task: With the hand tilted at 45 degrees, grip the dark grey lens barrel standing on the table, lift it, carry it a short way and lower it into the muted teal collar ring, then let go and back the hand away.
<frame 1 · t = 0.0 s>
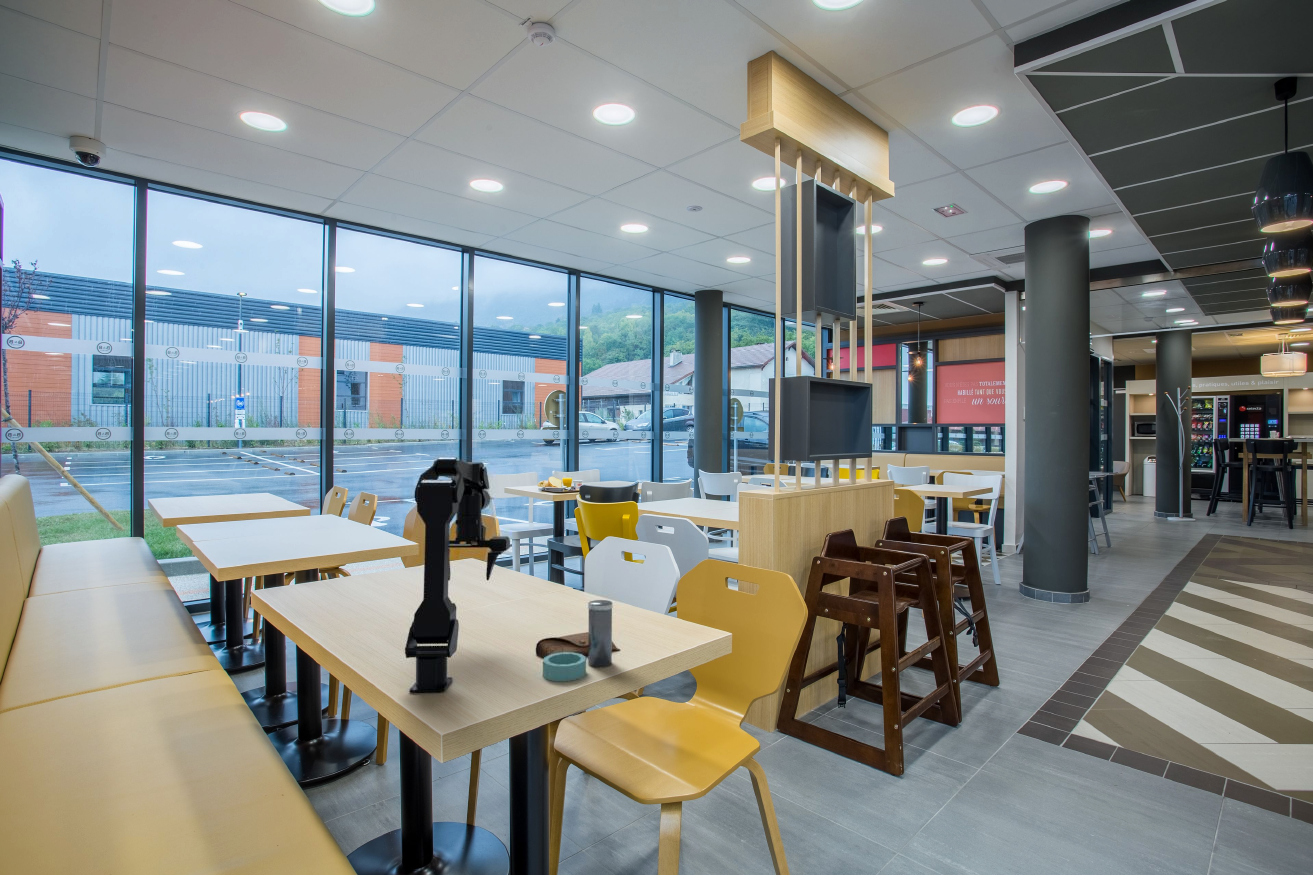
hand: (468, 580, 151), 15 cm above the table, tool pointing down, fingers open, 9 cm apart
sunglasses case: (579, 655, 144), on the table
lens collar: (564, 673, 130), on the table
lens barrel: (600, 663, 136), on the table
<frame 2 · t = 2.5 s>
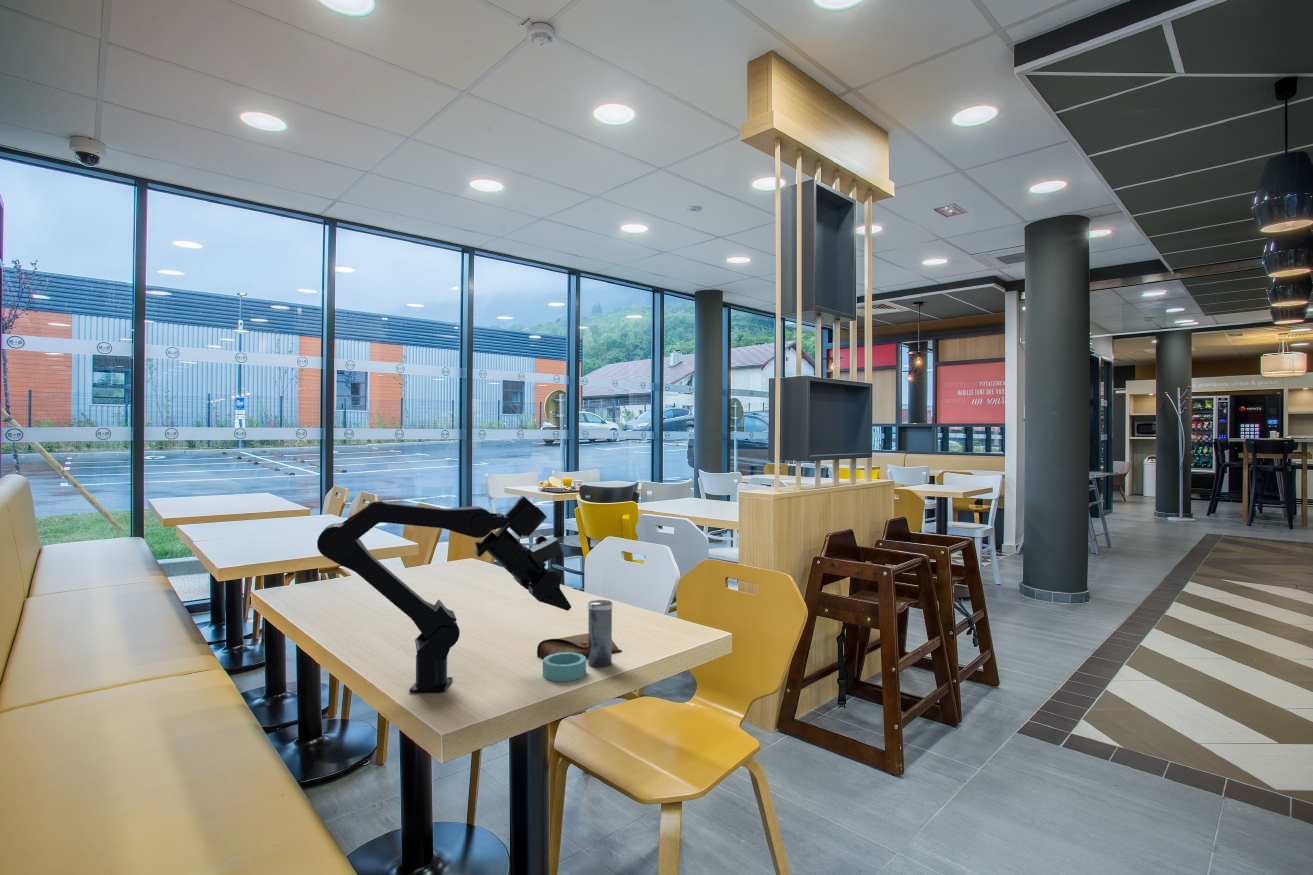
hand: (563, 603, 133), 13 cm above the table, tool tilted 45°, fingers open, 9 cm apart
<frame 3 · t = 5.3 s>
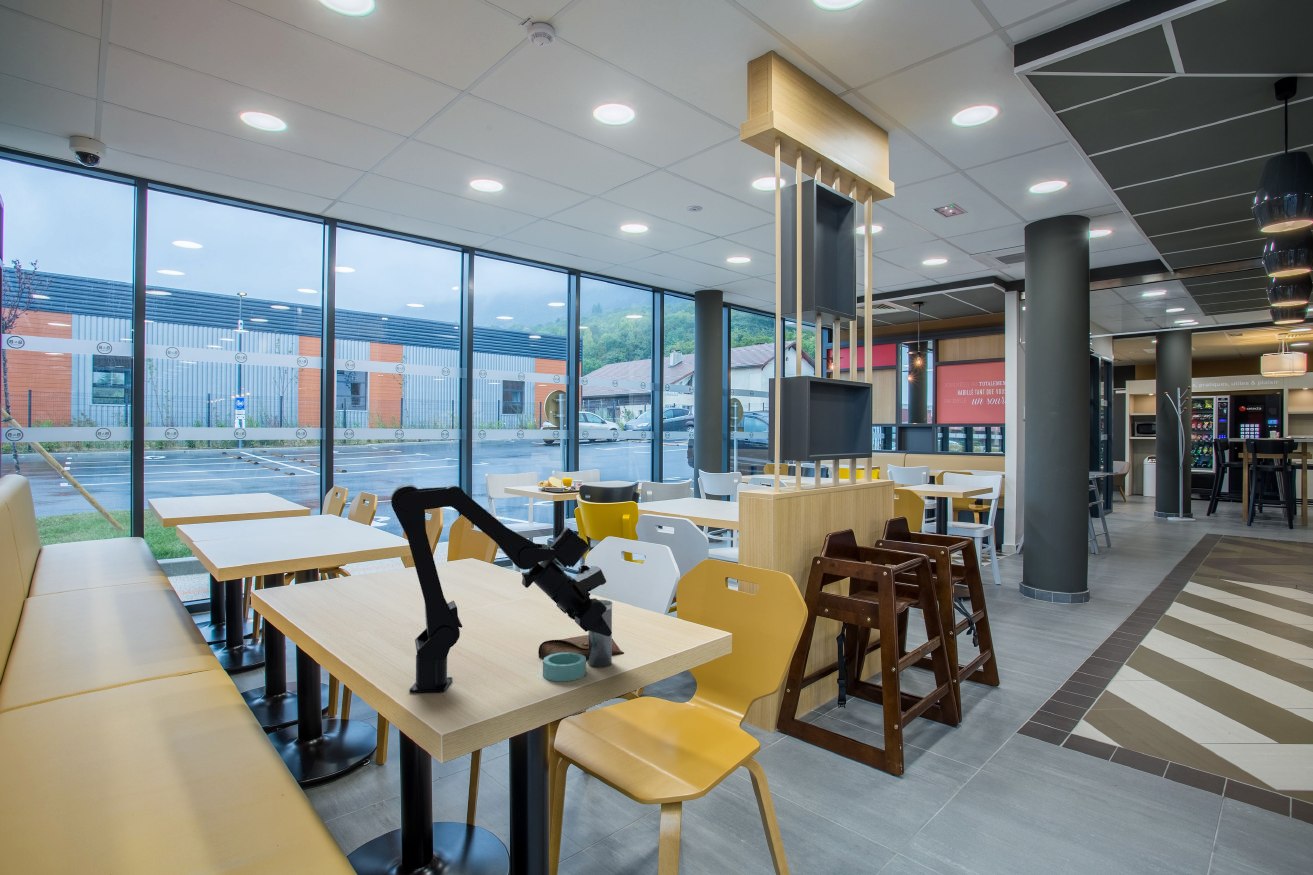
hand: (606, 631, 137), 7 cm above the table, tool tilted 45°, fingers closed on lens barrel, 5 cm apart
sunglasses case: (582, 657, 142), on the table
lens barrel: (600, 663, 136), on the table, touching gripper
when the fingers open (8 cm above the table, at t = 9.8 s): lens barrel drops 1 cm, resting in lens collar.
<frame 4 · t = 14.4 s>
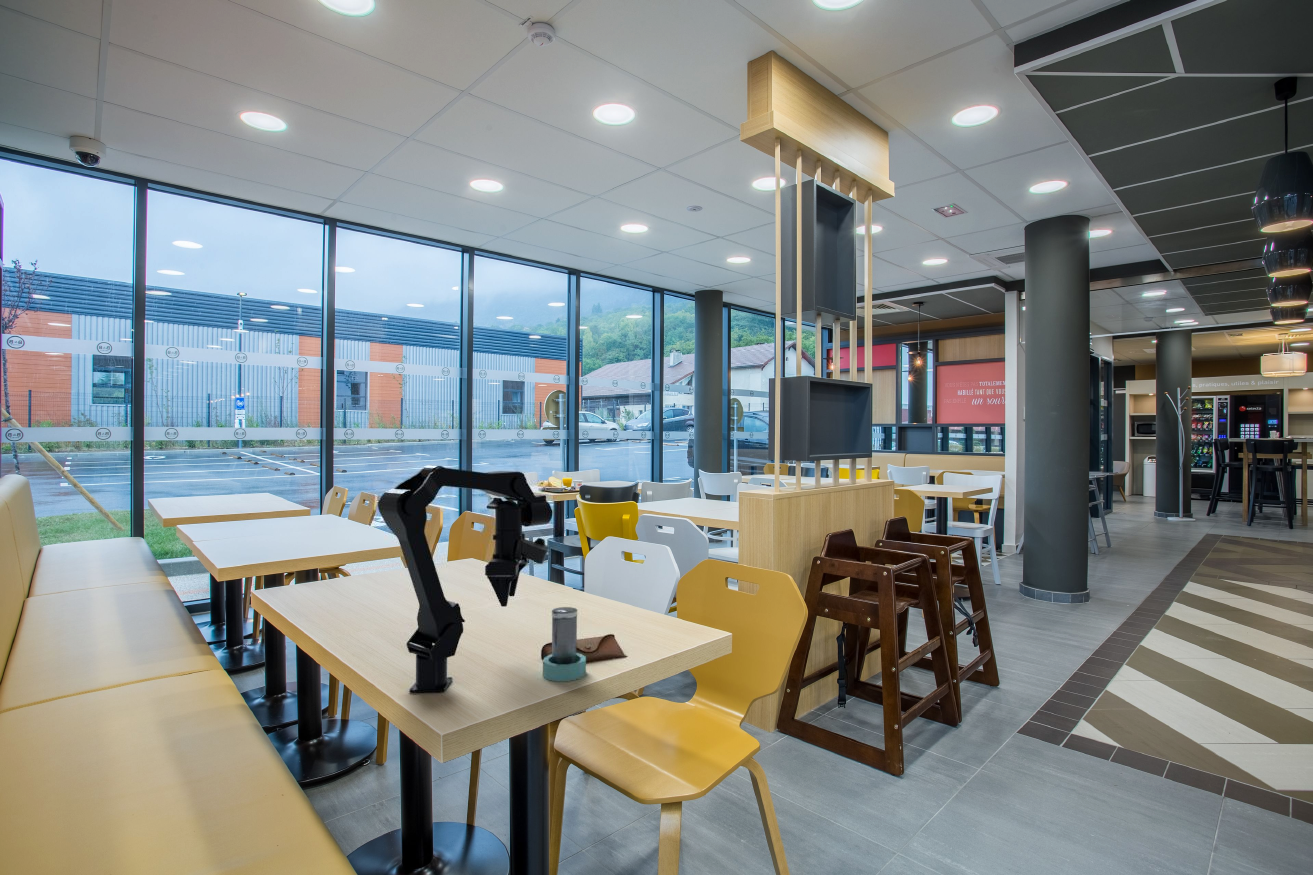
hand: (508, 601, 137), 13 cm above the table, tool pointing down, fingers open, 9 cm apart
sunglasses case: (585, 660, 140), on the table
lens barrel: (564, 673, 130), resting in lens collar
at the end: lens barrel 0.1 cm off-centre on the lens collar, point 0.0 cm above the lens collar's base; lens barrel tilted 0°; the gripper is holding nothing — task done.
